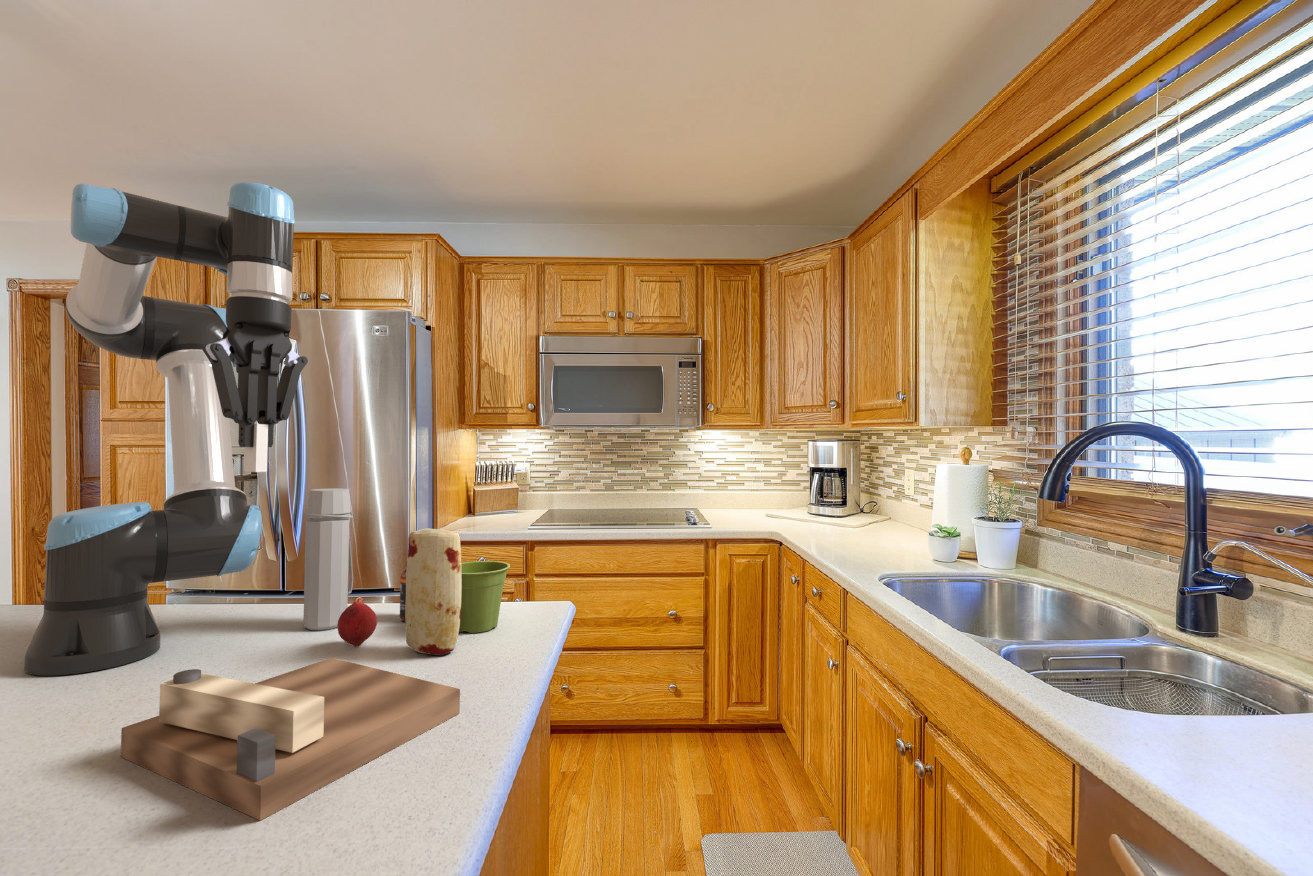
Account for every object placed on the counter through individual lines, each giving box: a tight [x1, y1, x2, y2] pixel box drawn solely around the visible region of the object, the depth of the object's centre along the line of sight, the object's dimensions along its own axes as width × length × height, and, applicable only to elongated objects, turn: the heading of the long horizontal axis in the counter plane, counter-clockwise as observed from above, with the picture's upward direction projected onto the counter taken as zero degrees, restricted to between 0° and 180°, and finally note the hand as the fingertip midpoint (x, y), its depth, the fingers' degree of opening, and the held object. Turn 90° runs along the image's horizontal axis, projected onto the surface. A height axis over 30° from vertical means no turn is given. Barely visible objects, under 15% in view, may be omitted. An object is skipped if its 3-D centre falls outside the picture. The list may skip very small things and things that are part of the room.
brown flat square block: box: [120, 657, 461, 821], centre depth 68 cm, size 24×24×6 cm
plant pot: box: [459, 560, 511, 634], centre depth 109 cm, size 12×12×11 cm
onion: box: [337, 596, 378, 648], centre depth 98 cm, size 6×6×8 cm
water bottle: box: [302, 487, 355, 631], centre depth 110 cm, size 9×8×25 cm
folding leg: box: [158, 668, 324, 753], centre depth 62 cm, size 19×4×5 cm, turn 71°
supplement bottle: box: [399, 560, 407, 623], centre depth 114 cm, size 6×6×11 cm
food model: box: [405, 527, 462, 656], centre depth 96 cm, size 10×7×20 cm
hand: (255, 471), depth 82 cm, fingers closed
